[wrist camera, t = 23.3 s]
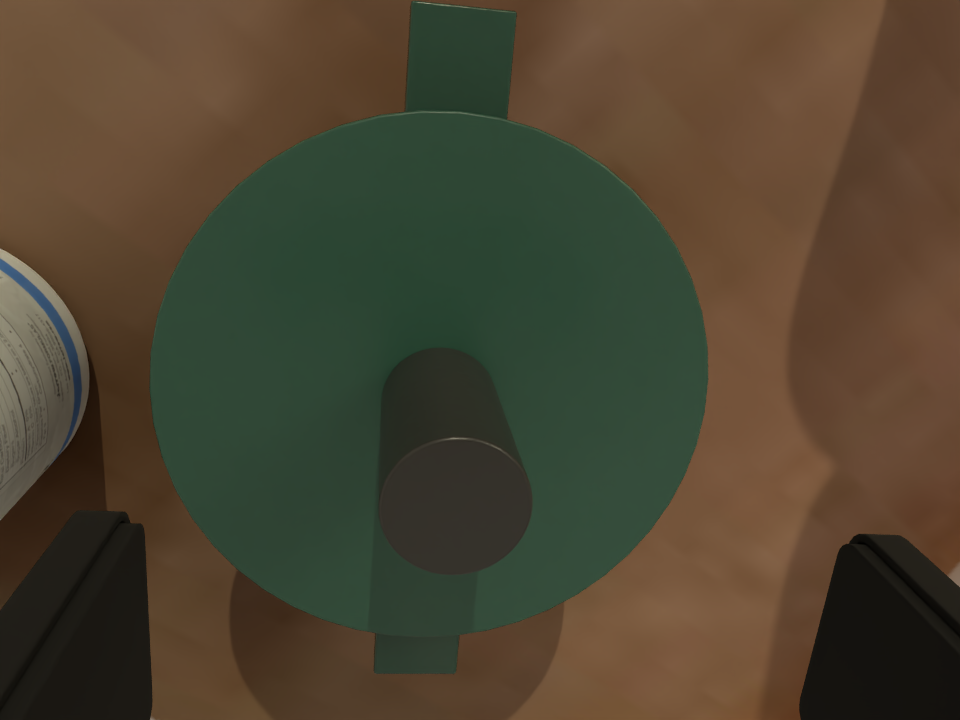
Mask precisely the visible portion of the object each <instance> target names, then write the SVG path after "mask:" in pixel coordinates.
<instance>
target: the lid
mask: <svg viewBox="0 0 960 720" xmlns="http://www.w3.org/2000/svg"><path fill="white" fill-rule="evenodd" d="M707 385H708V351H707V340H706V334H705V328H704V322H703V315H702V311H701V307H700V304H699V301H698V298H697V294H696V291H695V288H694V284H693V281H692V278H691V276H690V274H689V272H688V270H687V268H686V266H685V263H684V261H683V259H682V257H681V255H680V253H679V251H678V248H677V247H676V245H675V244H674V242H673V241H672V239H671V237H670V236H669V234H668V233H667V231H666V230H665V228H664V227H663V225H662V224H661V222H660V221H659V219H658V218H657V216H656V215H655V214H654V213H653V212H652V211H651V210H650V208H649V207H648V206H647V205H646V204H645V203H644V202H643V200H642V199H641V198H640V197H639V196H638V195H637V194H636V192H635V191H634V190H633V189H632V188H630V187H629V186H628V185H627V184H626V183H625V182H624V181H622V180H621V179H620V178H619V177H618V176H617V175H615V174H614V173H613V172H612V171H611V170H610V169H608V168H607V167H606V166H605V165H603V164H602V163H600V162H599V161H597V160H596V159H594V158H592V157H591V156H589V155H588V154H586V153H585V152H583V151H582V150H580V149H578V148H577V147H575V146H574V145H572V144H570V143H567V142H565V141H563V140H561V139H559V138H557V137H555V136H552V135H550V134H548V133H546V132H544V131H542V130H539V129H537V128H533V127H530V126H527V125H524V124H520V123H517V122H514V121H510V120H507V119H504V118H501V117H494V116H488V115H482V114H476V113H469V112H463V111H438V110H417V111H408V112H399V113H391V114H382V115H377V116H373V117H369V118H366V119H362V120H358V121H354V122H350V123H346V124H342V125H340V126H337V127H335V128H332V129H330V130H327V131H325V132H323V133H320V134H318V135H315V136H313V137H311V138H308V139H306V140H303V141H302V142H300V143H298V144H296V145H295V146H293V147H291V148H290V149H288V150H286V151H284V152H283V153H281V154H279V155H278V156H276V157H274V158H273V159H271V160H269V161H267V162H266V163H265V164H264V165H262V166H261V167H260V168H259V169H257V170H256V171H255V172H254V173H252V174H251V175H250V176H249V177H247V178H246V179H245V180H243V181H242V182H241V183H240V184H238V185H237V186H236V187H235V188H234V189H233V190H232V191H231V192H230V193H229V194H228V195H227V197H226V198H225V199H224V200H223V201H222V202H221V203H220V204H219V205H218V206H217V207H216V208H215V209H214V210H213V211H212V212H211V213H210V214H209V216H208V217H207V219H206V220H205V221H204V223H203V224H202V226H201V227H200V228H199V230H198V231H197V233H196V234H195V235H194V237H193V238H192V240H191V241H190V243H189V244H188V245H187V247H186V249H185V251H184V253H183V255H182V257H181V259H180V261H179V263H178V265H177V266H176V268H175V270H174V272H173V274H172V276H171V278H170V280H169V283H168V286H167V289H166V292H165V295H164V298H163V301H162V304H161V307H160V310H159V313H158V315H157V321H156V326H155V332H154V337H153V342H152V348H151V360H150V387H149V388H150V397H151V406H152V416H153V424H154V428H155V432H156V436H157V439H158V443H159V447H160V451H161V455H162V458H163V461H164V463H165V465H166V468H167V470H168V473H169V475H170V478H171V480H172V482H173V485H174V487H175V490H176V491H177V493H178V495H179V496H180V498H181V500H182V502H183V503H184V505H185V507H186V508H187V510H188V512H189V514H190V515H191V517H192V519H193V520H194V521H195V523H196V524H197V525H198V527H199V528H200V529H201V530H202V532H203V533H204V534H205V536H206V537H207V538H208V539H209V541H210V542H211V543H212V544H213V546H214V547H215V548H216V549H217V550H218V551H219V552H220V553H221V554H222V555H223V556H224V557H225V558H226V559H227V560H228V561H229V562H230V563H231V564H232V565H234V566H235V567H236V568H237V569H238V570H239V571H240V572H241V573H243V574H244V575H245V576H247V577H248V578H249V579H251V580H252V581H253V582H255V583H256V584H257V585H259V586H260V587H261V588H262V589H264V590H265V591H267V592H269V593H270V594H272V595H274V596H276V597H277V598H279V599H281V600H283V601H284V602H286V603H288V604H289V605H291V606H293V607H295V608H297V609H300V610H302V611H304V612H307V613H309V614H311V615H313V616H316V617H318V618H320V619H323V620H326V621H329V622H332V623H336V624H339V625H342V626H346V627H349V628H352V629H356V630H361V631H367V632H373V633H378V634H384V635H392V636H408V637H439V636H456V635H462V634H468V633H474V632H481V631H487V630H490V629H494V628H498V627H501V626H505V625H508V624H512V623H516V622H519V621H521V620H524V619H526V618H529V617H531V616H534V615H536V614H539V613H541V612H544V611H546V610H549V609H551V608H553V607H554V606H556V605H558V604H560V603H562V602H564V601H566V600H568V599H569V598H571V597H573V596H575V595H577V594H578V593H580V592H581V591H583V590H584V589H586V588H587V587H589V586H590V585H591V584H593V583H594V582H596V581H597V580H599V579H600V578H602V577H603V576H604V575H606V574H607V573H608V572H609V571H610V570H611V569H612V568H614V567H615V566H616V565H617V564H618V563H619V562H620V561H622V560H623V559H624V558H625V557H626V556H627V555H628V554H629V553H630V552H631V551H632V550H633V549H634V548H635V547H636V546H637V545H638V543H639V542H640V541H641V540H642V539H643V538H644V537H645V536H646V535H647V534H648V532H649V531H650V530H651V529H652V527H653V526H654V525H655V523H656V522H657V520H658V519H659V518H660V516H661V515H662V513H663V512H664V510H665V509H666V508H667V506H668V505H669V503H670V501H671V500H672V498H673V496H674V494H675V492H676V490H677V488H678V487H679V485H680V483H681V481H682V479H683V477H684V476H685V473H686V471H687V468H688V465H689V463H690V460H691V458H692V455H693V452H694V450H695V447H696V445H697V441H698V437H699V433H700V429H701V425H702V421H703V416H704V412H705V403H706V394H707Z"/></svg>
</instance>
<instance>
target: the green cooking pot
mask: <svg viewBox="0 0 960 720" xmlns="http://www.w3.org/2000/svg"><path fill="white" fill-rule="evenodd" d="M516 17H517V13H516V12H515V11H507V10H498V9H488V8H479V7H469V6H460V5H451V4H441V3H432V2H422V1H412V2H411V6H410V21H409V39H408V57H407V75H406V92H405V110H404V112H408V111H417V110H438V111H463V112H469V113H476V114H482V115H488V116H494V117H501V118H504V119H507V114H508V104H509V93H510V82H511V71H512V60H513V49H514V38H515V28H516ZM458 645H459V635H456V636H439V637H408V636H392V635H384V634H378V633H375V647H374V673H376V674H454V673H455V672H456V667H457V656H458Z"/></svg>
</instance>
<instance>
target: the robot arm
mask: <svg viewBox="0 0 960 720" xmlns="http://www.w3.org/2000/svg"><path fill="white" fill-rule="evenodd" d="M151 710H152V677H151V656H150V635H149V614H148V593H147V572H146V551H145V534H144V528H143V526H142V524H132V523H130V520H129V517H128V514H127V513H126V512H117V511H83V510H80V511H76V512H75V513H74V514H73V515H72V516H71V518H70V519H69V520H68V522H67V523H66V524H65V526H64V527H63V528H62V530H61V531H60V532H59V534H58V535H57V536H56V538H55V539H54V540H53V542H52V543H51V544H50V546H49V547H48V548H47V549H46V551H45V552H44V553H43V555H42V556H41V557H40V559H39V560H38V561H37V563H36V564H35V565H34V567H33V568H32V569H31V571H30V572H29V573H28V575H27V576H26V577H25V579H24V580H23V581H22V583H21V584H20V585H19V587H18V588H17V589H16V590H15V592H14V593H13V594H12V596H11V597H10V598H9V600H8V601H7V602H6V604H5V605H4V606H3V608H2V609H1V610H0V720H150V716H151ZM799 710H800V717H801V720H960V587H959V586H958V585H956V584H955V583H954V582H953V581H952V580H951V579H950V578H949V577H948V576H947V575H945V574H944V573H943V572H942V571H941V570H940V569H939V568H938V567H937V566H935V565H934V564H933V563H932V562H931V561H930V560H929V559H928V558H927V557H925V556H924V555H923V554H922V553H921V552H920V551H919V550H918V549H917V548H915V547H914V546H913V545H912V544H911V543H910V542H909V541H908V540H907V539H905V538H903V537H902V536H899V535H877V534H858V535H856V536H854V537H853V538H852V540H851V541H850V543H849V544H845V545H843V546H842V547H841V548H840V550H839V552H838V555H837V559H836V563H835V566H834V570H833V574H832V578H831V582H830V586H829V590H828V593H827V597H826V601H825V605H824V609H823V613H822V617H821V620H820V624H819V628H818V632H817V636H816V640H815V644H814V647H813V651H812V655H811V659H810V663H809V667H808V670H807V674H806V678H805V682H804V686H803V690H802V694H801V697H800V704H799Z"/></svg>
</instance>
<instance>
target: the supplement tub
mask: <svg viewBox="0 0 960 720" xmlns="http://www.w3.org/2000/svg"><path fill="white" fill-rule="evenodd" d="M88 394H89V363H88V358H87V352H86V348H85V345H84V342H83V339H82V336H81V333H80V331H79V328H78V326H77V324H76V322H75V320H74V318H73V316H72V315H71V313H70V311H69V310H68V308H67V307H66V305H65V304H64V302H63V301H62V299H61V298H60V297H59V296H58V294H57V293H56V292H55V291H54V290H53V289H52V287H51V286H50V285H49V284H48V283H47V282H46V281H45V280H44V279H43V278H42V277H41V276H40V275H38V274H37V273H36V272H35V271H34V270H32V269H31V268H30V267H29V266H27V265H26V264H25V263H23V262H22V261H20V260H19V259H17V258H16V257H14V256H13V255H11V254H9V253H8V252H6V251H4V250H2V249H0V520H1V519H2V518H3V517H4V516H5V515H6V514H7V513H8V511H9V510H10V509H11V508H12V507H13V506H14V505H15V504H16V503H17V502H18V500H19V499H20V498H21V497H22V496H23V495H24V494H25V493H26V492H27V491H28V489H29V488H30V487H31V486H32V485H33V484H34V483H35V482H36V481H37V480H38V478H39V477H40V476H41V475H42V474H43V473H44V472H45V471H46V470H47V469H48V467H49V466H50V465H51V464H52V463H53V462H54V461H55V460H56V458H57V457H58V456H59V455H60V454H61V452H62V451H63V450H64V449H65V448H66V447H67V445H68V444H69V443H70V441H71V440H72V438H73V437H74V435H75V433H76V431H77V429H78V427H79V425H80V423H81V420H82V417H83V414H84V411H85V408H86V404H87V399H88Z"/></svg>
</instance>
